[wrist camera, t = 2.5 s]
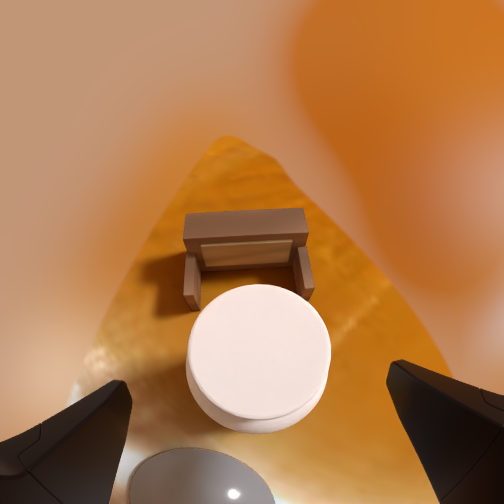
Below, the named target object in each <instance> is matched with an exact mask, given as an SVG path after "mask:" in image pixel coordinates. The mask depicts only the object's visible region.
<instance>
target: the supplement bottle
mask: <svg viewBox="0 0 504 504" xmlns="http://www.w3.org/2000/svg"><path fill="white" fill-rule="evenodd" d="M330 359H331V346H330V339H329V335H328V332H327V329H326V326H325V324H324V322H323V320H322V319H321V317H320V316H319V314H318V313H317V311H316V310H315V309H314V308H313V307H312V306H311V305H310V304H309V303H308V302H307V301H305V300H304V299H303V298H301V297H300V296H298V295H297V294H295V293H293V292H291V291H289V290H286V289H284V288H281V287H277V286H272V285H261V284H255V285H247V286H241V287H238V288H235V289H232V290H229V291H227V292H225V293H223V294H221V295H219V296H218V297H217V298H215V299H214V300H213V301H211V302H210V303H209V304H208V305H207V306H206V307H205V308H204V309H203V311H202V312H201V313H200V314H199V316H198V317H197V319H196V321H195V323H194V325H193V327H192V330H191V332H190V336H189V341H188V353H187V358H186V375H187V381H188V385H189V388H190V390H191V393H192V395H193V397H194V399H195V400H196V402H197V404H198V405H199V406H200V407H201V409H202V410H203V411H204V412H205V413H206V414H207V415H208V416H209V417H210V418H212V419H213V420H214V421H216V422H217V423H219V424H221V425H222V426H224V427H226V428H229V429H232V430H234V431H238V432H242V433H248V434H267V433H273V432H277V431H280V430H283V429H286V428H288V427H290V426H292V425H294V424H295V423H297V422H298V421H300V420H301V419H303V418H304V417H305V416H306V415H307V414H308V413H309V412H310V411H311V410H312V409H313V408H314V407H315V405H316V404H317V402H318V401H319V399H320V397H321V395H322V393H323V391H324V388H325V385H326V381H327V376H328V369H329V366H330Z"/></svg>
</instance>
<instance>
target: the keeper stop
mask: <svg viewBox="0 0 504 504" xmlns="http://www.w3.org/2000/svg"><path fill="white" fill-rule="evenodd" d="M308 234H309V231H308V227H307V222H306V218H305V214H304V210H303V208H288V209H262V210H241V211H223V212H207V213H193V214H186V215H185V224H184V233H183V241H184V244H185V247H186V250H187V252H188V253H186V261H185V276H184V293H183V296H184V297H185V299H186V301H187V303H188V305H189V307H190V309H191V311H200V298H201V272H202V271H222V270H241V269H259V268H276V267H292V266H293V271H294V278H295V284H296V290H297V295H298V296H300V297H301V298H303V299H304V300H305V301H307V302H308V301H309V299H310V297H311V295H312V293H313V291H314V288H315V286H314V281H313V276H312V271H311V266H310V261H309V256H308V251H307V246H305V245H306V241H307V237H308Z"/></svg>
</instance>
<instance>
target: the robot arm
mask: <svg viewBox="0 0 504 504" xmlns="http://www.w3.org/2000/svg"><path fill="white" fill-rule="evenodd" d="M386 384H387V388H388V390H389V393H390V395H391V398H392V400H393V403H394V406H395V408H396V411H397V414H398V416H399V418H400V421H401V423H402V425H403V427H404V429H405V430H406V432H407V434H408V436H409V438H410V440H411V442H412V444H413V447H414V449H415V451H416V453H417V455H418V457H419V459H420V461H421V463H422V465H423V467H424V470H425V472H426V474H427V476H428V478H429V480H430V483H431V485H432V487H433V489H434V492H435V494H436V496H437V498H438V501H439V502H440V503H439V504H504V395H499V394H496V393H493V392H490V391H487V390H483V389H479V388H477V387H475V386H472V385H469V384H466V383H463V382H460V381H458V380H455V379H453V378H450V377H447V376H444V375H442V374H439V373H436V372H434V371H431V370H428V369H426V368H423V367H421V366H418V365H415V364H413V363H410V362H408V361H405V360H403V359H401V360H397V361H393V362H392V363H391V364H390V368H389V372H388V376H387V380H386ZM131 409H132V398H131V395H130V392H129V390H128V387H127V384H126V383H125V382H124V381H122V380H112V381H111V382H109V383H107V384H106V385H104V386H102V387H101V388H99V389H98V390H96V391H94V392H93V393H91V394H89V395H88V396H86V397H84V398H83V399H81V400H79V401H78V402H76V403H74V404H73V405H71V406H69V407H68V408H66V409H64V410H62V411H61V412H59V413H57V414H56V415H54V416H52V417H50V418H49V419H47V420H45V421H43V422H42V424H41V423H40V424H38V425H36V426H34V427H33V428H31V429H29V430H27V431H25V432H23V433H21V434H19V435H17V436H14V437H12V438H10V439H7V440H5V441H2V442H0V504H109V500H110V496H111V492H112V488H113V484H114V480H115V477H116V473H117V469H118V466H119V462H120V458H121V455H122V452H123V448H124V445H125V441H126V436H127V431H128V425H129V420H130V414H131Z"/></svg>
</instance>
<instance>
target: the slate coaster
mask: <svg viewBox="0 0 504 504" xmlns="http://www.w3.org/2000/svg"><path fill="white" fill-rule="evenodd" d="M129 500H130V504H275V501H274V498H273V495H272V493H271V490H270V488H269V487H268V485H267V484H266V482H265V481H264V480H263V479H262V478H261V476H260V475H259V474H257V473H256V472H255V471H254V470H253V469H252V468H250V467H249V466H247V465H246V464H245V463H243V462H241V461H239V460H238V459H235V458H233V457H231V456H229V455H226V454H223V453H220V452H217V451H212V450H208V449H201V448H180V449H174V450H169V451H166V452H163V453H160V454H158V455H155V456H153V457H152V458H150V459H148V460H147V461H146V462H144V463H143V464H142V465H141V466H140V467H139V468H138V469H137V471H136V472H135V474H134V476H133V478H132V480H131V483H130V488H129Z"/></svg>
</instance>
